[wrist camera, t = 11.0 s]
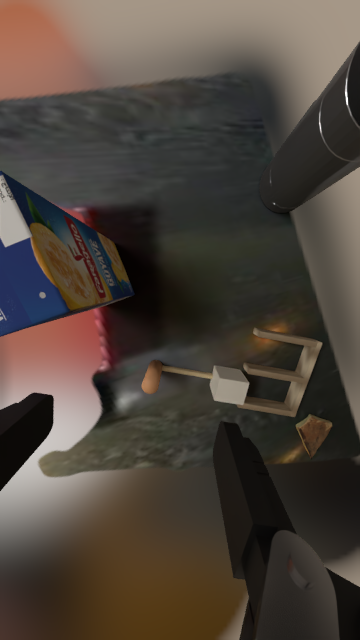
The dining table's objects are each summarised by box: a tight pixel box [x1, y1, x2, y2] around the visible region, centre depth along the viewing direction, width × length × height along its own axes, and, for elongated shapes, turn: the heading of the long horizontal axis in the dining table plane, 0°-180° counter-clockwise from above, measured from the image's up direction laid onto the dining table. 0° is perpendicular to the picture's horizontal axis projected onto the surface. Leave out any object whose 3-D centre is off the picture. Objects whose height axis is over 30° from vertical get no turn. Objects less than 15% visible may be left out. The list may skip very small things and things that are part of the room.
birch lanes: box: [237, 328, 322, 417], centre depth 38 cm, size 18×13×3 cm
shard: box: [296, 414, 332, 459], centre depth 43 cm, size 11×8×2 cm
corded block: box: [142, 360, 249, 405], centre depth 36 cm, size 5×20×8 cm, turn 80°
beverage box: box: [0, 171, 135, 337], centre depth 25 cm, size 7×11×22 cm, turn 19°
